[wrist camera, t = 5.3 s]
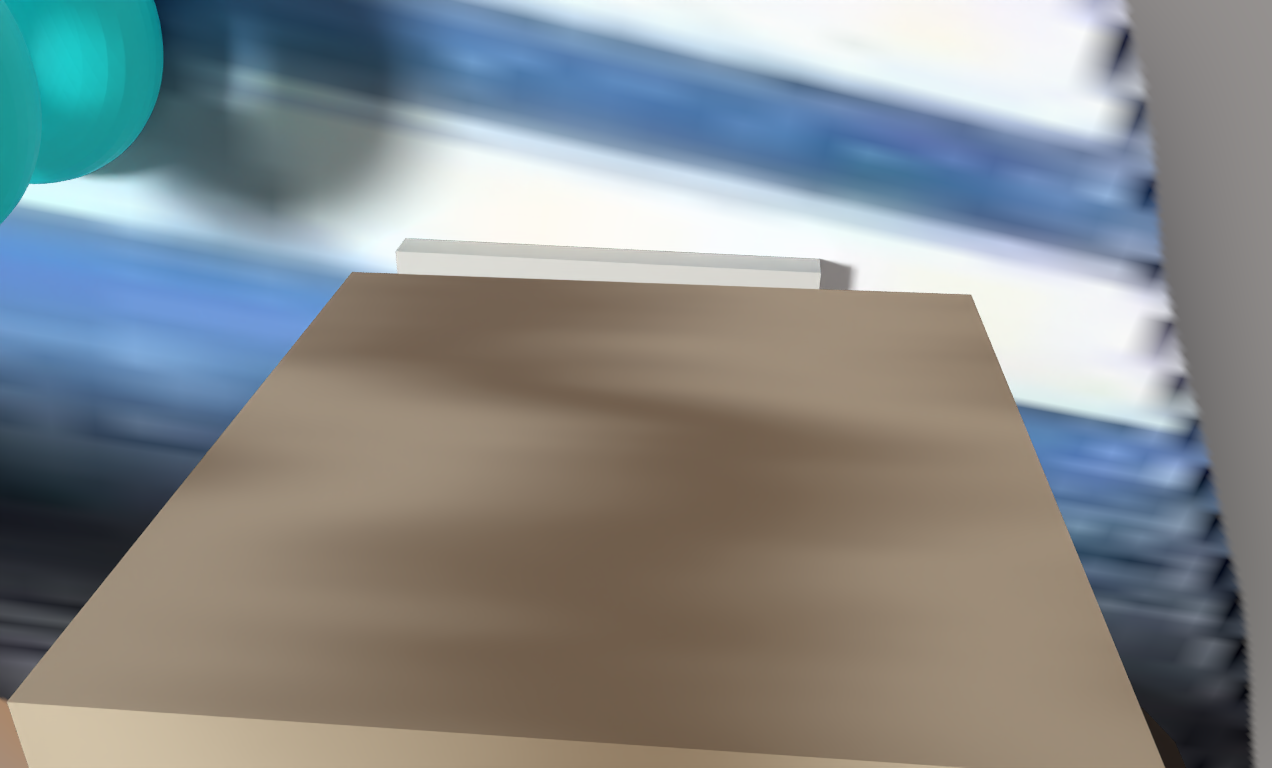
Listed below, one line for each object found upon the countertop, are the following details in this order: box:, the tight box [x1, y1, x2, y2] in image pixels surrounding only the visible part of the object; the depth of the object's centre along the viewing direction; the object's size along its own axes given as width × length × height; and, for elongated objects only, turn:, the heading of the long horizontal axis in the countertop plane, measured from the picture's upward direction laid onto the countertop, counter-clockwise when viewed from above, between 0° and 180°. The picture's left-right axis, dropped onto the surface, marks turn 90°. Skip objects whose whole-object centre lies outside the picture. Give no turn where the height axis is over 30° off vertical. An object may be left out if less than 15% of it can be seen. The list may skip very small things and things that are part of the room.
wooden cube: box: [7, 272, 1165, 768], centre depth 13 cm, size 8×8×8 cm
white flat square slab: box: [396, 238, 821, 289], centre depth 42 cm, size 14×14×1 cm
